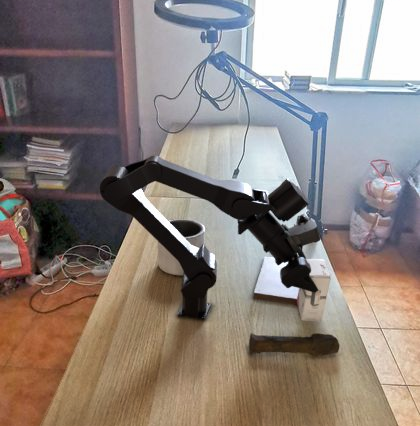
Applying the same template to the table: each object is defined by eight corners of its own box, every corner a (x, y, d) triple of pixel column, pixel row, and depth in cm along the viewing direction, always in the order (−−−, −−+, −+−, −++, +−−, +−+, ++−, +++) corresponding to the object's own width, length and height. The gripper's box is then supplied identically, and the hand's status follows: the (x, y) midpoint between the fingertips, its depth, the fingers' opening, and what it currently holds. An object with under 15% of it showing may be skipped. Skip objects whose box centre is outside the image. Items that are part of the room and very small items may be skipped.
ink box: (295, 300, 118) (303, 257, 111) (315, 302, 118) (325, 258, 111) (299, 321, 111) (309, 275, 104) (321, 322, 111) (333, 277, 104)
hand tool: (248, 356, 102) (250, 339, 99) (248, 344, 105) (250, 327, 102) (339, 362, 101) (343, 344, 99) (336, 350, 105) (340, 333, 102)
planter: (180, 282, 125) (180, 243, 119) (148, 265, 132) (146, 227, 126) (213, 266, 133) (215, 228, 127) (182, 250, 140) (182, 214, 134)
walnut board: (301, 305, 119) (302, 299, 118) (253, 297, 121) (253, 292, 120) (307, 266, 135) (308, 261, 134) (264, 260, 137) (264, 255, 136)
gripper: (307, 228, 92) (353, 281, 99) (295, 193, 108) (335, 241, 114) (261, 263, 97) (308, 311, 103) (256, 224, 112) (297, 268, 119)
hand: (313, 281), depth 110 cm, fingers closed on ink box, 8 cm apart
